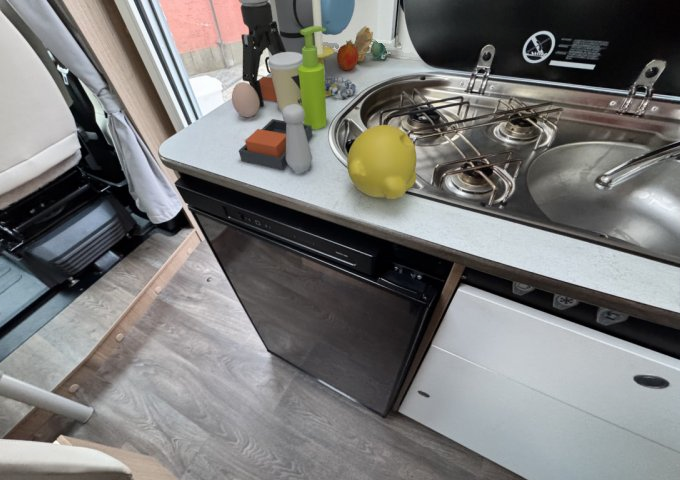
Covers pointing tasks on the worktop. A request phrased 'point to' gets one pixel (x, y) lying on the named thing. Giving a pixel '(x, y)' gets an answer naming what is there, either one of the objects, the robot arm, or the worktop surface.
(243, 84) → the egg
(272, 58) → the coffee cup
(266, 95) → the loose pad
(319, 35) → the yellow disc white stick
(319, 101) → the soap dispenser
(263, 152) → the seated pad
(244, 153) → the pad frame
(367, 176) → the sculpture
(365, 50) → the cartoon bug character
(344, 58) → the fruit
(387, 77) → the worktop surface
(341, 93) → the bracelet
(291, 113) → the salt shaker
